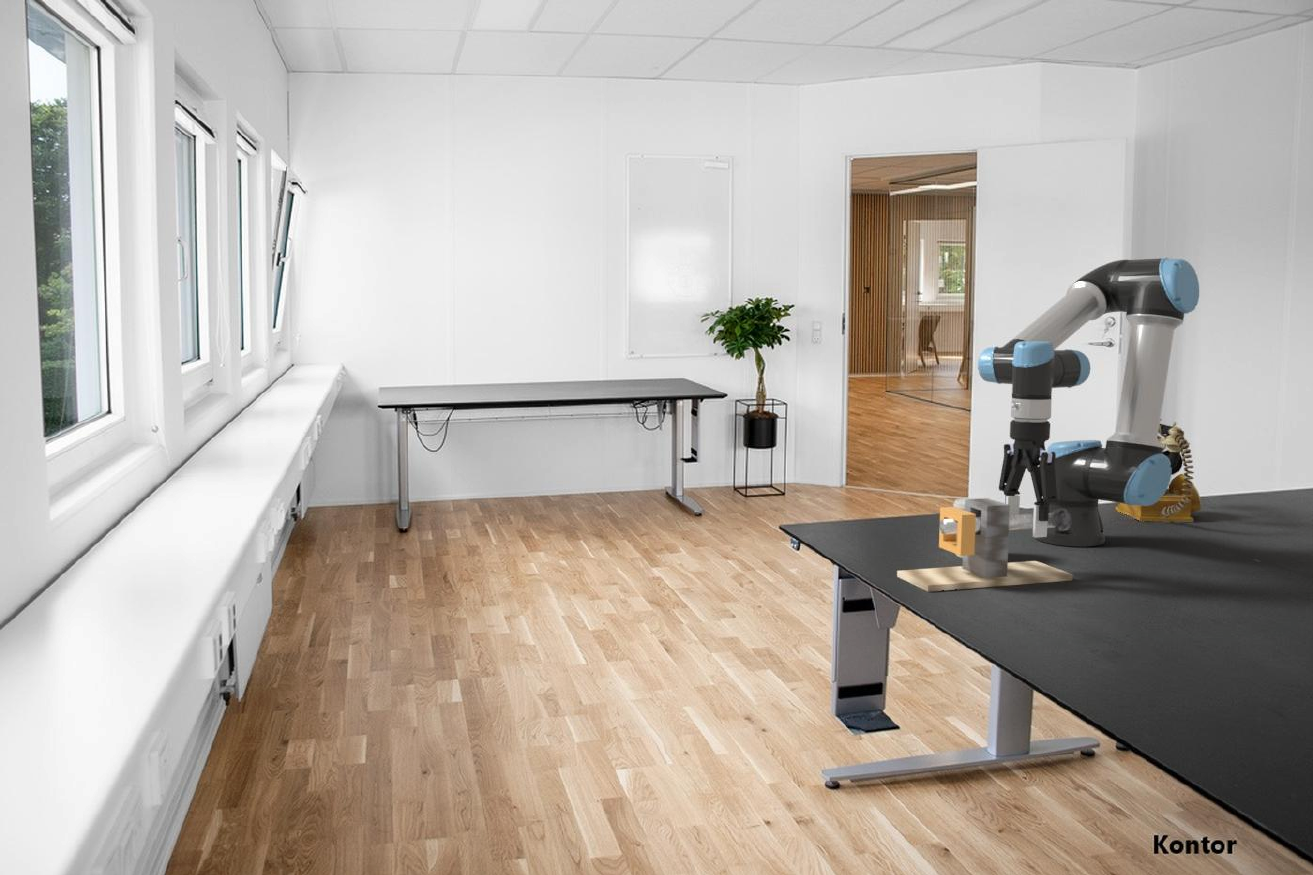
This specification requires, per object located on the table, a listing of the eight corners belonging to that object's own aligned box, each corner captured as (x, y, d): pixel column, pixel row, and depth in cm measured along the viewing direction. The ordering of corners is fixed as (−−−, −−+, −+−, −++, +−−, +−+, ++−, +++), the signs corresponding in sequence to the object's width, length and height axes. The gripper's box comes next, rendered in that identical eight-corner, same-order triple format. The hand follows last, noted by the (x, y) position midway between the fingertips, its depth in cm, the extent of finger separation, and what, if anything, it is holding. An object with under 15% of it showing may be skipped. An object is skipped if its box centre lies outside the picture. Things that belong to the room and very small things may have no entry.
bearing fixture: (1035, 566, 231) (1038, 493, 229) (1072, 580, 220) (1076, 503, 218) (897, 576, 222) (899, 500, 220) (927, 591, 211) (930, 511, 209)
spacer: (952, 546, 223) (953, 506, 222) (974, 554, 215) (975, 514, 214) (938, 547, 222) (940, 507, 221) (960, 555, 214) (962, 515, 213)
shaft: (1057, 527, 227) (1058, 506, 226) (1071, 532, 223) (1072, 510, 222) (937, 535, 219) (938, 513, 219) (949, 540, 215) (950, 517, 215)
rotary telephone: (1239, 534, 263) (1246, 429, 260) (1163, 534, 264) (1169, 429, 260) (1173, 507, 298) (1179, 414, 295) (1107, 506, 299) (1112, 414, 296)
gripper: (983, 414, 229) (979, 522, 231) (1047, 426, 208) (1041, 544, 211) (1015, 413, 231) (1010, 520, 234) (1081, 425, 210) (1075, 542, 213)
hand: (1025, 532), depth 222 cm, fingers open, 9 cm apart
